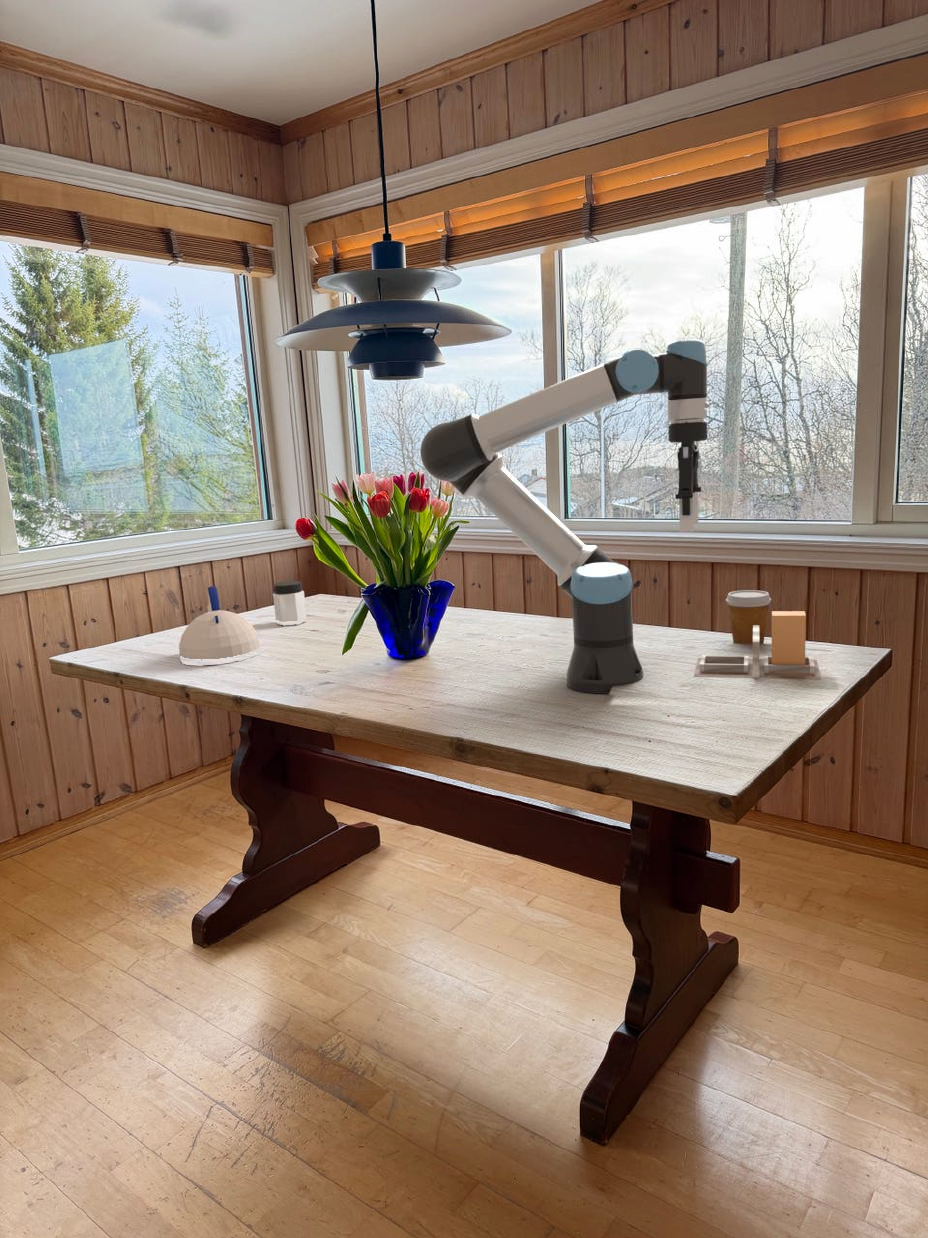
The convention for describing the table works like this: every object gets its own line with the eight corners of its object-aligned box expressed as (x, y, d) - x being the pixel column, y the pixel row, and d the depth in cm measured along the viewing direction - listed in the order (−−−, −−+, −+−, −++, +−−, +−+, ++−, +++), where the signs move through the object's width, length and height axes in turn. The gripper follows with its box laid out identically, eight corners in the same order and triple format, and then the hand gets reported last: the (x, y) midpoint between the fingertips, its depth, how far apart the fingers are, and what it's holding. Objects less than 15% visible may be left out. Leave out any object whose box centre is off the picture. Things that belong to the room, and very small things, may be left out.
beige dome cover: (257, 642, 234) (249, 576, 230) (265, 659, 214) (256, 587, 211) (179, 653, 228) (169, 585, 224) (179, 671, 208) (169, 597, 205)
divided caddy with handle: (821, 686, 162) (821, 642, 160) (693, 683, 169) (693, 641, 167) (816, 666, 174) (817, 625, 173) (698, 664, 182) (697, 625, 180)
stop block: (805, 671, 167) (805, 615, 164) (771, 670, 169) (772, 615, 166) (804, 665, 170) (804, 611, 168) (771, 665, 172) (771, 611, 170)
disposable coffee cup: (773, 651, 188) (774, 597, 186) (728, 652, 190) (727, 598, 188) (767, 640, 197) (768, 589, 195) (724, 641, 199) (723, 590, 197)
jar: (272, 623, 257) (268, 583, 254) (297, 619, 262) (293, 579, 259) (285, 627, 250) (280, 586, 247) (311, 622, 254) (306, 582, 252)
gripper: (703, 420, 160) (704, 534, 165) (710, 419, 183) (711, 520, 188) (662, 423, 163) (664, 535, 167) (673, 422, 186) (675, 521, 190)
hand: (689, 527), depth 177 cm, fingers open, 13 cm apart
